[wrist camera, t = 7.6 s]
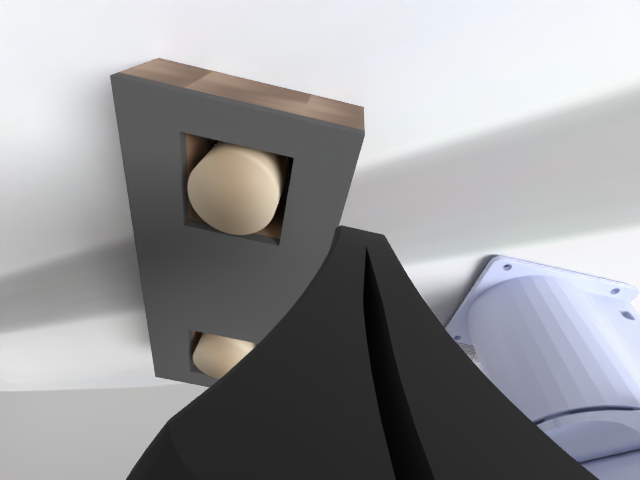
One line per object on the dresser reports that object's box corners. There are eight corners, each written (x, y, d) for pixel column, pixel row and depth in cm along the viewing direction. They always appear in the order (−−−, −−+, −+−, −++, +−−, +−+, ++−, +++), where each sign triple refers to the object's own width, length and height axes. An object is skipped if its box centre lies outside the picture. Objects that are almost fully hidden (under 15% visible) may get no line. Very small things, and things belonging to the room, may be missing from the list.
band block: (363, 107, 17) (364, 135, 14) (295, 356, 29) (287, 402, 26) (159, 58, 16) (110, 75, 13) (178, 333, 29) (155, 376, 26)
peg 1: (294, 137, 17) (281, 168, 14) (283, 204, 20) (270, 242, 17) (215, 119, 17) (186, 146, 14) (213, 189, 19) (188, 224, 17)
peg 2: (266, 309, 25) (254, 351, 22) (261, 343, 27) (249, 385, 24) (211, 298, 25) (192, 339, 22) (210, 333, 27) (193, 374, 24)
